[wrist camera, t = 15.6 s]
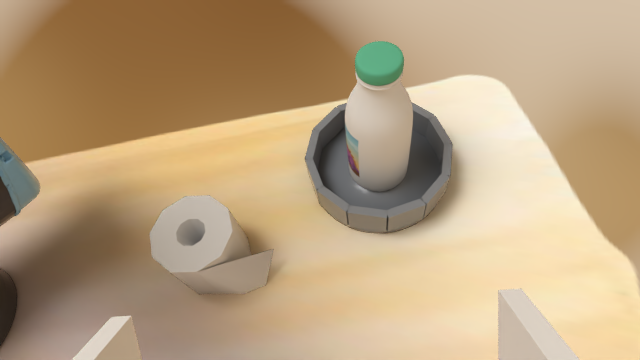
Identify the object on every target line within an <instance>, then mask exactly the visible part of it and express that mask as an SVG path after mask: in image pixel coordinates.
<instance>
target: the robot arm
mask: <svg viewBox="0 0 640 360" xmlns="http://www.w3.org/2000/svg"><path fill="white" fill-rule="evenodd" d="M39 192H40V183H39V181H38V179H37V178H36V177H35V175H34V174H33V173H32V172H31V171H30V170H29V168H28V167H27V166H26V165H25V164H24V163H23V162H22V160H21V159H20V158H19V157H18V156H17V155H16V154H15V153H14V152H13V151H12V149H11V148H10V147H9V146H8V145H7V144H6V143H5V142H4V141H3V140H2V139H1V138H0V226H1V225H3V224H4V223H6V222H7V221H8V220H10V219H11V218H12V217H14V216H17V215H18V214H19V213H20V212H21V209H23V208H24V207H25V206H26V205H27V204H29V203H30V202H31V201H32V200H33V199H35V198H36V197H37V195H38V194H39ZM16 305H17V294H16V289H15V285H14V283H13V281H12V279H11V278H10V276H9V275H8V274H7V273H6V272H4V271H3V270H1V269H0V345H1V343H2V342H3V340H4V339H5V337H6V335H7V333H8V331H9V329H10V327H11V325H12V322H13V319H14V316H15V311H16ZM498 359H499V360H579V358H578V357H577V356H576V355H575V354H574V352H573V351H572V350H571V349H570V347H569V346H568V345H567V344H566V343H565V341H564V340H563V339H562V338H561V336H560V335H559V334H558V333H557V332H556V330H555V329H554V328H553V327H552V325H551V324H550V323H549V322H548V321H547V319H546V318H545V317H544V316H543V315H542V313H541V312H540V311H539V310H538V308H537V307H536V306H535V305H534V304H533V302H532V301H531V300H530V299H529V297H528V296H527V295H526V294H525V293H524V291H523V290H522V289H509V290H498ZM72 360H142V357H141V353H140V349H139V345H138V341H137V337H136V332H135V328H134V324H133V320H132V316H118V317H111V318H110V319H109V320H108V321H107V322H106V323H105V324H104V325H103V327H102V328H101V329H100V330H99V331H98V332H97V333H96V334H95V335H94V336H93V337H92V338H91V340H90V341H89V342H88V343H87V344H86V345H85V346H84V347H83V348H82V349H81V350H80V351H79V353H78V354H77V355H76V356H75V357H74V358H73V359H72Z"/></svg>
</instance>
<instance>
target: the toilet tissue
mask: <svg viewBox="0 0 640 360" xmlns="http://www.w3.org/2000/svg"><path fill="white" fill-rule="evenodd" d="M150 242H151V253H152V258H154V259H155V260H156V261H157V262H158V263H160V264H161V265H162V266H163V267H164V268H165V269H167V270H168V271H169V272H170V273H171V274H173V275H174V276H175V277H177V278H178V279H179V280H181V281H182V282H183V283H185V284H186V285H187V286H189V287H190V288H191V289H193V290H194V291H195V292H197V293H198V294H245V293H248V292H250V291H253V290H255V289H258V288H260V287H263V286H265V285H266V282H267V277H268V273H269V268H270V264H271V259H272V254H273V250H274V249H271V250H268V251H264V252H261V253H258V254H254V255H251V251H250V246H249V242H248V237H247V236H246V234H245V233H244V232H243V230H242V229H241V227H240V226H239V224H238V223H237V221H236V220H235V218H234V217H233V215H232V214H231V212H230V211H229V209H228V208H227V207H225V206H224V205H223V204H221V203H220V202H218V201H217V200H216V199H214V198H213V197H211V196H210V195H207V196H185V197H183V198H182V199H180V200H178V201H177V202H175V203H174V204H172V205H170V206H169V207H167V208H166V209H164V210H163V211H162V212H161V214H160V216H159V218H158V219H157V221H156V223H155V225H154V226H153V228H152V230H151V232H150Z"/></svg>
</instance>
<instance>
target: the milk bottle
mask: <svg viewBox="0 0 640 360" xmlns="http://www.w3.org/2000/svg"><path fill="white" fill-rule="evenodd" d="M403 66H404V57H403V54H402V52H401V50H400V49H399V48H398V47H397V46H396V45H394V44H392V43H389V42H383V41H378V42H372V43H369V44H367V45H365V46H363V47H362V48H361V49H360V50H359V51H358V53H357V55H356V58H355V69H356V78H357V80H358V82H357V84H356V86H355V88H354V89H353V91H352V93H351V94H350V97H349V98H348V101H347V105H346V109H345V130H346V142H347V153H348V163H349V170H350V174H351V176H352V178H353V180H354V181H355V182H356V183H357V184H358V185H359V186H361V187H363V188H364V189H367V190H370V191H377V192H381V191H386V190H390V189H392V188H394V187H396V186H397V185H398V184H399V183H400V182H401V181H402V180H403V179H404V177H405V175H406V172H407V167H408V160H409V152H410V144H411V135H412V125H413V108H412V103H411V100H410V97H409V95H408V93H407V91H406V89H405V88H404V86H403V85H402V83H401V78H402V75H403Z"/></svg>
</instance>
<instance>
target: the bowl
mask: <svg viewBox="0 0 640 360" xmlns="http://www.w3.org/2000/svg"><path fill="white" fill-rule="evenodd" d="M411 103H412V102H411ZM346 105H347V103H345V104H342V105H339V106H337V107H335V108H334V109H333V110H332V111H331V112H330V113H329V114H328V115H327V116H326V117H325V118H324V119H323V120H322V121H321V122H320V123H319V124H318V125H316V126H315V127H314V128H313V130H312V134H311V137H310V141H309V145H308V149H307V153H306V156H305V162H306V166H307V170H308V174H309V177H310V180H311V182H312V185H313V188H314V191H315V194H316V196H317V198H318V201H319V204H320V205H321V206H322V207H323V208H324V209H325V210H326V211H327V212H328V214H330V215H331V216H332V217H333V218H334V219H336V220H337V221H339V222H340V223H342V224H344V225H346V226H348V227H350V228H353V229H356V230H359V231H364V232H370V233H388V232H395V231H399V230H402V229H405V228H408V227H410V226H412V225H414V224H416V223H418V222H419V221H421V220H422V219H424V218H425V217H426V216H427V215H428V214H429V213H430V212H431V211H432V210H433V209H434V208H435V206H436V205H437V203H438V202H439V200H440V198H441V197H442V196H443V195H444V193H445V192H446V188H447V185H448V182H449V178H450V173H451V158H452V142H451V140H450V138H449V137H448V135H447V134H446V132H445V130H444V129H443V127H442V126H441V124H440V122H439V121H438V119H437V117H436V116H434V114H432V113H430V112H428V111H427V110H425V109H423V108H421V107H419V106H417V105H416V104H414V103H412V108H413V125H412V135H411V144H410V152H409V160H408V167H407V172H406V175H405V177H404V179H403V180H402V181H401V182H400V183H399V184H398V185H397V186H396V187H394V188H392V189H390V190H386V191H381V192H377V191H370V190H367V189H364V188H363V187H361V186H359V185H358V184H357V183H356V182H355V181H354V180H353V178H352V176H351V174H350V170H349V163H348V153H347V142H346V130H345V109H346Z"/></svg>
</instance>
